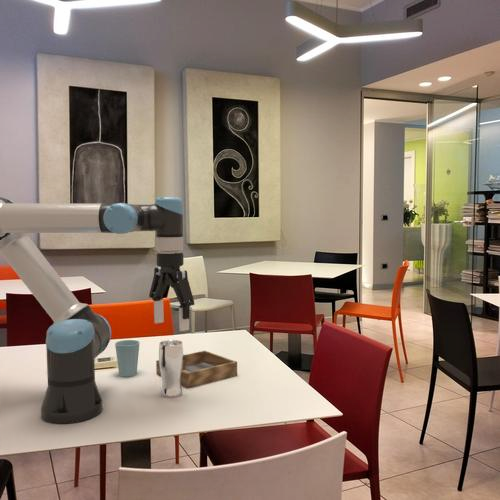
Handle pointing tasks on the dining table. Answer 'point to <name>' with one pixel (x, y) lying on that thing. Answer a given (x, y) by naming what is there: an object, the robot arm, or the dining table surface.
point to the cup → (127, 357)
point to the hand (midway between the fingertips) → (171, 326)
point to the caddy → (204, 368)
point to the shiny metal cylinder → (171, 367)
